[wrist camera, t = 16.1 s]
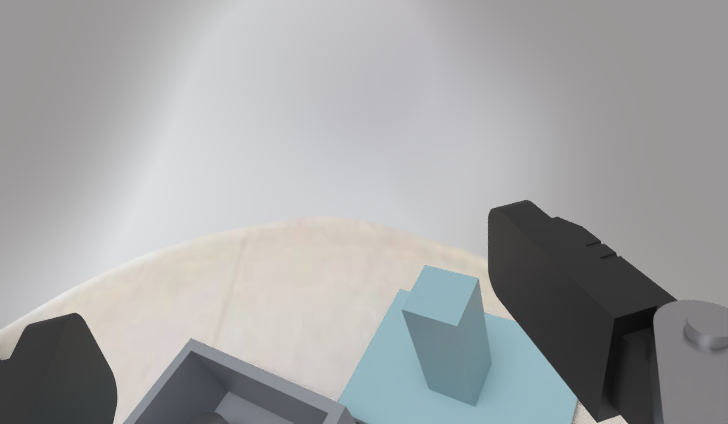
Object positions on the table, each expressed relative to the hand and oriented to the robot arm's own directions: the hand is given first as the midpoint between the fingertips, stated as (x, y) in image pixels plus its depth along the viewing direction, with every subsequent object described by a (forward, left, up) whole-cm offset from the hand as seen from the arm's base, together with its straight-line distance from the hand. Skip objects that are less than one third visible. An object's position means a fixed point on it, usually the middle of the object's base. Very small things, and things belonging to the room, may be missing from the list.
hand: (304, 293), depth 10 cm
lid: (-4, +11, -28) cm, 30 cm away
